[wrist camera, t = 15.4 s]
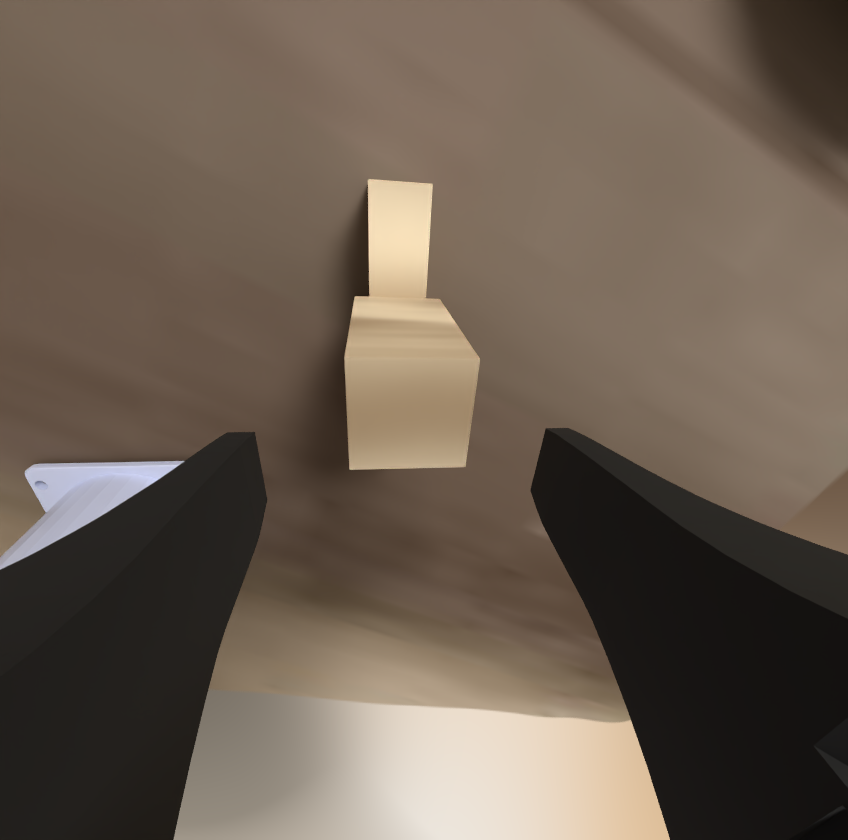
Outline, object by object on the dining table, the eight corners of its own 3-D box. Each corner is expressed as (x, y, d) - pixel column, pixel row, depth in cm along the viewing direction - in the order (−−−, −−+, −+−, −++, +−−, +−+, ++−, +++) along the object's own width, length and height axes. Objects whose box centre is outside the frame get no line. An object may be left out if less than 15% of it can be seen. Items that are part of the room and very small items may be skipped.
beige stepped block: (420, 416, 20) (452, 558, 12) (361, 416, 19) (353, 563, 11) (434, 187, 15) (505, 175, 7) (355, 181, 14) (335, 162, 7)
